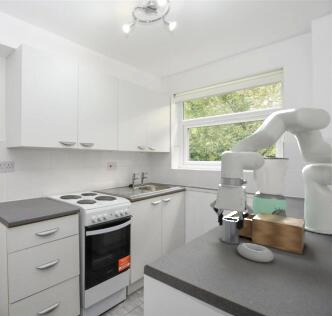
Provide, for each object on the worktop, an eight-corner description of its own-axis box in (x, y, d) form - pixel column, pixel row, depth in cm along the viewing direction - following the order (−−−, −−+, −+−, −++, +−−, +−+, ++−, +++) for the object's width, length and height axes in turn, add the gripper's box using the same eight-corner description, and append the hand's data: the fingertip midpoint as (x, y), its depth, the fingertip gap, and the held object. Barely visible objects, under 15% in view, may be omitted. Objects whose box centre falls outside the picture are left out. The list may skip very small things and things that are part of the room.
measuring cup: (219, 240, 89) (220, 218, 89) (224, 237, 93) (224, 216, 93) (236, 245, 84) (237, 222, 84) (240, 241, 89) (241, 219, 88)
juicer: (298, 234, 98) (300, 156, 98) (267, 233, 99) (269, 155, 98) (266, 221, 117) (267, 156, 117) (240, 221, 118) (242, 156, 117)
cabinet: (251, 242, 88) (252, 218, 88) (259, 233, 98) (259, 212, 98) (301, 254, 78) (302, 227, 77) (304, 243, 88) (305, 219, 87)
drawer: (216, 231, 98) (216, 213, 98) (225, 225, 107) (226, 209, 107) (265, 242, 85) (266, 222, 85) (271, 234, 95) (271, 216, 95)
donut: (279, 267, 68) (266, 253, 78) (279, 256, 68) (266, 243, 78) (242, 261, 71) (233, 248, 81) (242, 251, 71) (233, 239, 81)
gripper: (259, 183, 85) (258, 230, 85) (211, 179, 97) (210, 220, 97) (255, 185, 80) (254, 234, 80) (205, 180, 92) (204, 223, 92)
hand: (230, 226), depth 89 cm, fingers closed on measuring cup, 5 cm apart
